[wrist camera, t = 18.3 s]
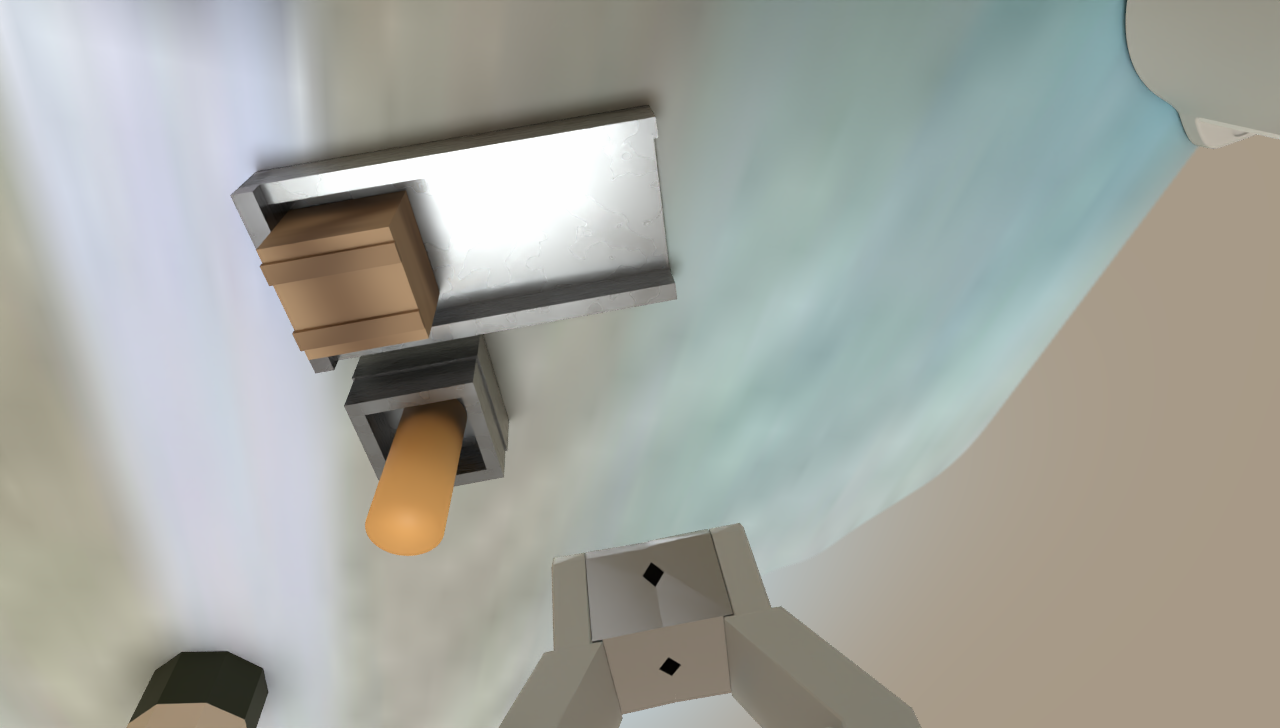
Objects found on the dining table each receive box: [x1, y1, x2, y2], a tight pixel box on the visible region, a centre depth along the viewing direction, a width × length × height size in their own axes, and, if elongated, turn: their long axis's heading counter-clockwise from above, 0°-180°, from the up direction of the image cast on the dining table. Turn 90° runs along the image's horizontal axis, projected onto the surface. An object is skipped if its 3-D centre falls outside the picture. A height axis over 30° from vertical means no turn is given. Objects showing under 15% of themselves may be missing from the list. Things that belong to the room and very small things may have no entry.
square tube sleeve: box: [344, 334, 509, 486], centre depth 41 cm, size 7×7×6 cm
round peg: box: [365, 399, 467, 556], centre depth 36 cm, size 4×4×9 cm
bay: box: [230, 105, 677, 373], centre depth 36 cm, size 20×10×4 cm, turn 98°
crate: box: [256, 190, 440, 360], centre depth 35 cm, size 6×6×5 cm
